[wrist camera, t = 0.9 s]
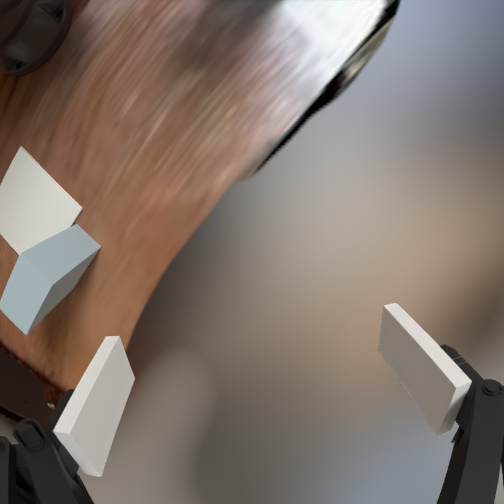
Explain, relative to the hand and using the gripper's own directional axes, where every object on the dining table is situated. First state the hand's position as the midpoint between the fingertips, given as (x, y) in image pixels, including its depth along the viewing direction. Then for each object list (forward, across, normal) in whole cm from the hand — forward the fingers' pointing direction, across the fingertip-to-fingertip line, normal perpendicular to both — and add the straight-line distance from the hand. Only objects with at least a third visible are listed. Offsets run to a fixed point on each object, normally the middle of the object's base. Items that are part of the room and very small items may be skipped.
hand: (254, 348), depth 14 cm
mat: (+27, -32, +6) cm, 42 cm away
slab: (+27, -25, -2) cm, 37 cm away
